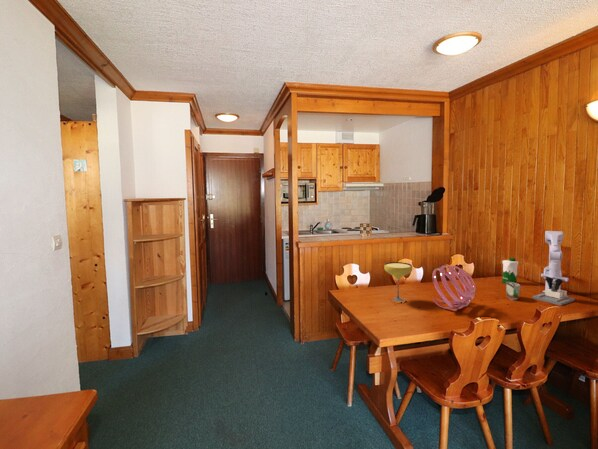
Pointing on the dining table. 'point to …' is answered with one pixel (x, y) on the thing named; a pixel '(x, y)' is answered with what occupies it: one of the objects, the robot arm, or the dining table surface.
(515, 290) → the food container
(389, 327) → the dining table surface
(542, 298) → the base
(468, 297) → the spiral basket
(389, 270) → the cocktail glass
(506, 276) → the milk carton
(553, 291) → the sliding jaw
